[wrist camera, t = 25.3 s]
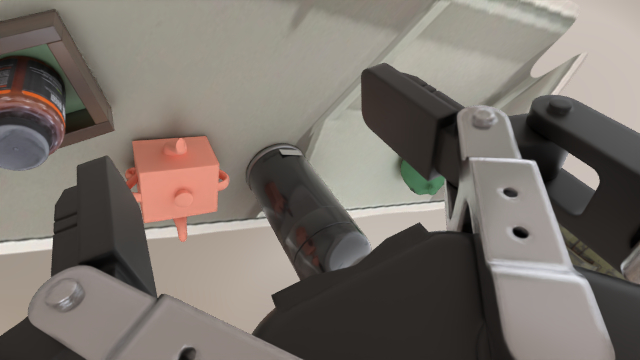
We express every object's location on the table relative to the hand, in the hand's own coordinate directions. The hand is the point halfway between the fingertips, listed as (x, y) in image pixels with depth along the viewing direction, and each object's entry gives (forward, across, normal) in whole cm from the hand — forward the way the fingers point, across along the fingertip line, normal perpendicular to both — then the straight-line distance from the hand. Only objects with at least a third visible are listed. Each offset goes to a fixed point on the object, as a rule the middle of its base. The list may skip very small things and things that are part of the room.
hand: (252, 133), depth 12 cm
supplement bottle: (+32, +14, +8) cm, 35 cm away
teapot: (+32, +5, +22) cm, 39 cm away
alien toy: (+32, -33, +40) cm, 61 cm away
